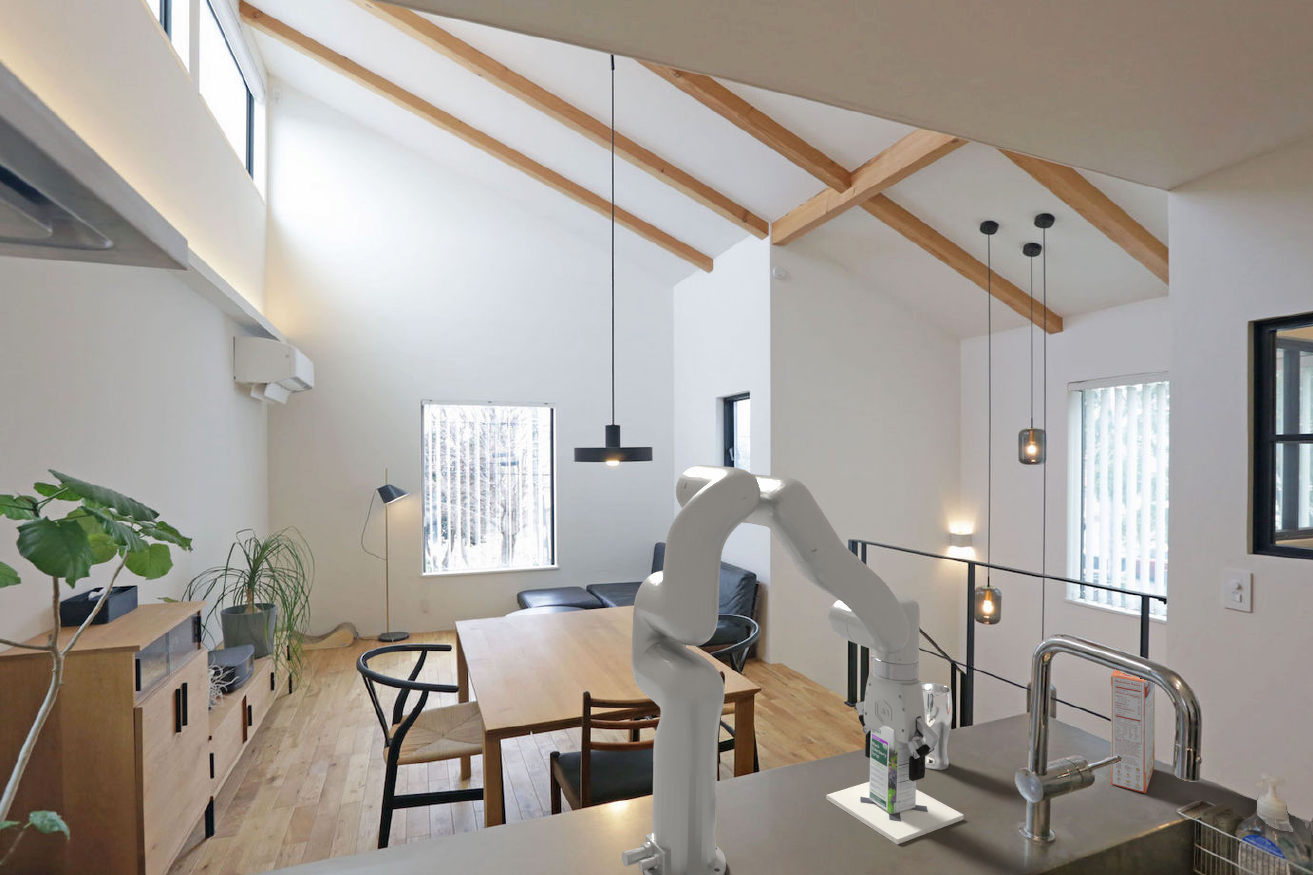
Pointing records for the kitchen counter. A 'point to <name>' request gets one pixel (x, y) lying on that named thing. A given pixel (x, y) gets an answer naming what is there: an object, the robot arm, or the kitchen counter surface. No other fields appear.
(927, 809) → the letter placard
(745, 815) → the kitchen counter surface
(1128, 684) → the cracker box
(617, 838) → the kitchen counter surface
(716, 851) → the robot arm
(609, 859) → the kitchen counter surface
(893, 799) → the syrup box
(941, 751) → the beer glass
